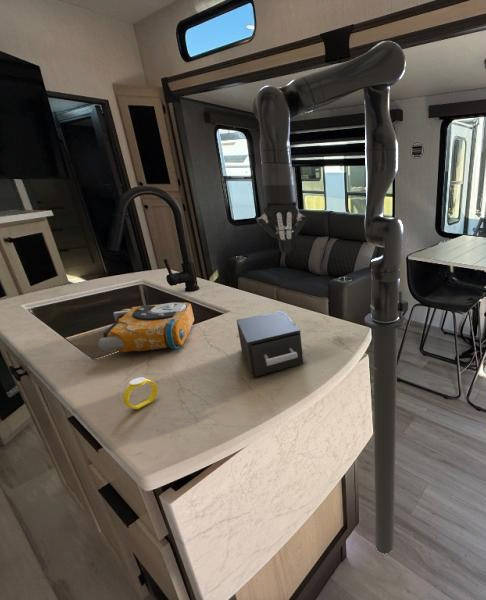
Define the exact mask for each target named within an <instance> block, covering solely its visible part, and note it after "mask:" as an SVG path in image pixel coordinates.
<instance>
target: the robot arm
mask: <svg viewBox="0 0 486 600" xmlns="http://www.w3.org/2000/svg"><path fill="white" fill-rule="evenodd" d="M406 68H407V61H406V55H405V52H404V50H403V48H402V47H401V46H400V45H399V44H398V43H396V42H394V41H392V40H385V41H383V40H382V41H381V42H378V43H377V44H376V45H374V46H372V48H371V49H369V50H368V51H367V52H365V53H363V54H361V55H359V56H357V57H355V58H352V59H349V60H348V61H345V62H341V63H339V64H337V65H333V66H330V67H326V68H324V69H320V70H317V71H314V72H310V73H307V74H305V75H302V76H298V77H297V78H294V79H293V80H291V81H290V82H289V83H287V84H286V85H282V86H280V87H276V86H273V85H265V86H264V87H261V88H260V89H259V90H258V92H257V93H256V95H255V97H254V99H253V102H252V111H253V112H252V113H253V114H254V116H255V118H256V119H257V121H258V124H259V133H260V137H259V144H258V145H259V146H258V147H259V155H260V163H261V164H260V165H261V184H262V189H263V198H264V209H263V214H261V216H260V217H256V219H255V220H256V222H257V224H259V225H260V226H261V227H262V229H264V231H265V232H267V233H268V234H269V235H270V237H272V238H274V239H277V240H278V247H279V252H281V253H282V254H283V255H287V254H290V253H291V251H292V248H293V247H292V238H294V237H297V236H298V235H299V234H300V232H301V231H302V230H303V229H302V228H304V225H305V224H306V222H307V221H308V216H306V215H304V214H302V213H301V212H300V210H299V208H298V205H297V195H296V185H295V174H294V170H293V164H292V155H291V154H292V153H291V146H290V134H291V120H292V119H294V118H296V117H298V116H300V115H304V114H306V113H310V112H313V111H316V110H318V109H321V108H324V107H327V106H328V105H332V104H334V103H335V102H337V101H340V100H341V99H343V98H345V97H347V96H349V95H352V94H353V93H356V92H358V91H360V90H361V91H362V93H363V102H364V114H365V115H364V127H365V128H364V130H365V132H364V133H365V146H364V147H365V149H364V151H365V173H366V178H365V179H366V180H365V181H366V192H365V193H366V199H365V213H364V237H365V240H366V242H367V244H368V245H370V246H372V247H378V248H383V253H382V255H381V256H378V257H374V258H373V259H372V260H371V261H370V302H371V304H369V307H370V310H371V311H370V313H371V319H372V321H374V322H376V323H380V324H391V323H395V322H397V321H398V320H399V319H401V316H402V315H403V316H405V315H406V313H407V312H408V311H409V301H406V300H405V299H403V292H402V291H401V290H400V289H401V288H400V285H401V284H400V283H401V280H400V279H401V273H400V272H401V263H402V259H403V245H404V224H403V222H402V220H401V219H400V218H398V217H394V216H384V204H385V198H386V196H387V193H388V191H389V190H390V188H391V186H392V184H393V182H394V180H395V178H396V175H397V173H398V168H399V142H398V137H397V134H396V131H395V128H394V124H393V122H392V119H391V118H392V117H391V113H390V92H391V91H390V90H391V87H392V86H394V85H396V84H397V83H399V81H401V79H402V78H403V76H404V74H405V71H406ZM295 220H296V222H295ZM269 222H271V223H272V225H274V227H275V230H276V231H275V230H274V229H273V228H272V227H271V226H270V225H269ZM294 222H295V224H294ZM293 224H294V226H292V225H293Z"/></svg>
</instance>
